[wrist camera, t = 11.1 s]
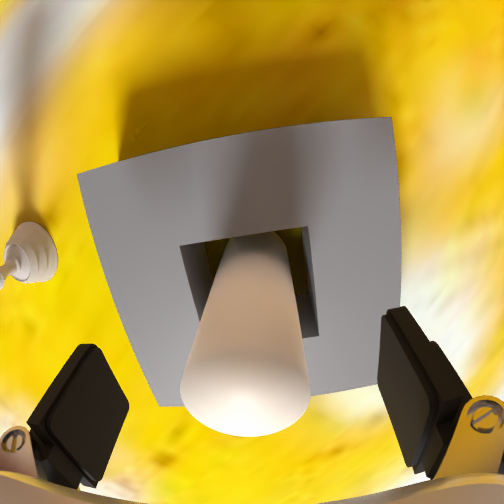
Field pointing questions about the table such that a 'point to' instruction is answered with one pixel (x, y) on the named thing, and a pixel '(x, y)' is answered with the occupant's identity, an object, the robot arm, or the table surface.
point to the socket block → (252, 222)
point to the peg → (248, 344)
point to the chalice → (29, 255)
